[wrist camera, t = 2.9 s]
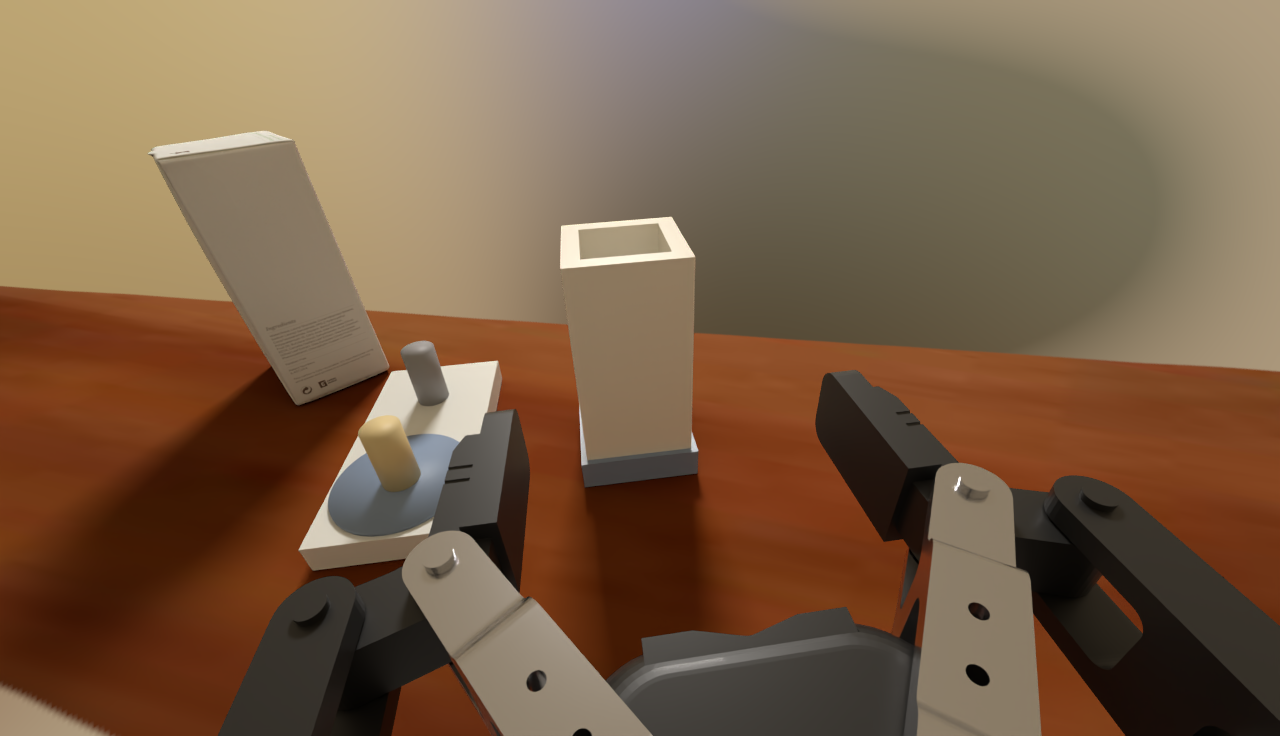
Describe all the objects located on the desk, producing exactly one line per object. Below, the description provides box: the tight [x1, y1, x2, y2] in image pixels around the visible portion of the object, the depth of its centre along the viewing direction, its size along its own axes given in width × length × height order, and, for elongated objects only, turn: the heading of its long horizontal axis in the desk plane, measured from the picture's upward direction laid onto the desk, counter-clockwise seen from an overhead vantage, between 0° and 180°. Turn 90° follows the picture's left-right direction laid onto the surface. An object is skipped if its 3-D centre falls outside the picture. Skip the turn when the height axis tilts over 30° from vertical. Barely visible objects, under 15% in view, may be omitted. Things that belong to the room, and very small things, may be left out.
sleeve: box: [560, 217, 698, 487], centre depth 25 cm, size 6×6×12 cm
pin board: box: [299, 341, 502, 571], centre depth 27 cm, size 14×7×5 cm, turn 7°
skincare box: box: [148, 131, 389, 405], centre depth 32 cm, size 8×7×16 cm
